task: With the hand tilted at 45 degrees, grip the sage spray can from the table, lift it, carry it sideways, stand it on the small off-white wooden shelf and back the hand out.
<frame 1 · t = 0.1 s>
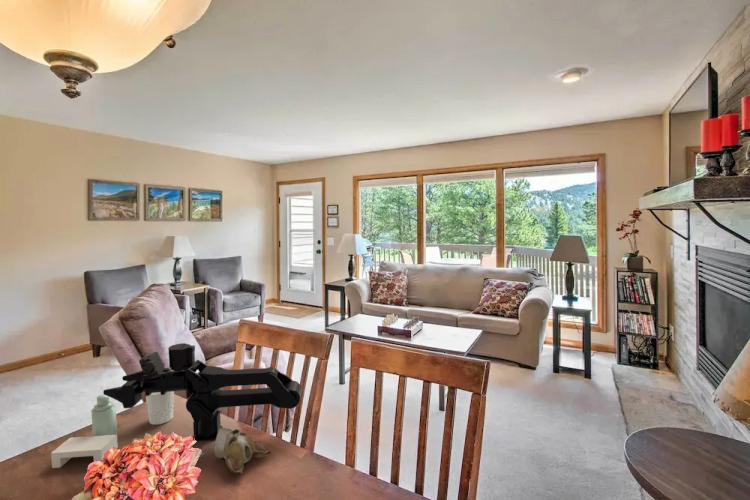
hand: (113, 384, 107), 17 cm above the table, fingers open, 9 cm apart
ceramic sculpture: (238, 462, 98), on the table
shelf: (86, 457, 100), on the table
sage spray can: (105, 439, 108), on the table
white cup: (161, 420, 119), on the table
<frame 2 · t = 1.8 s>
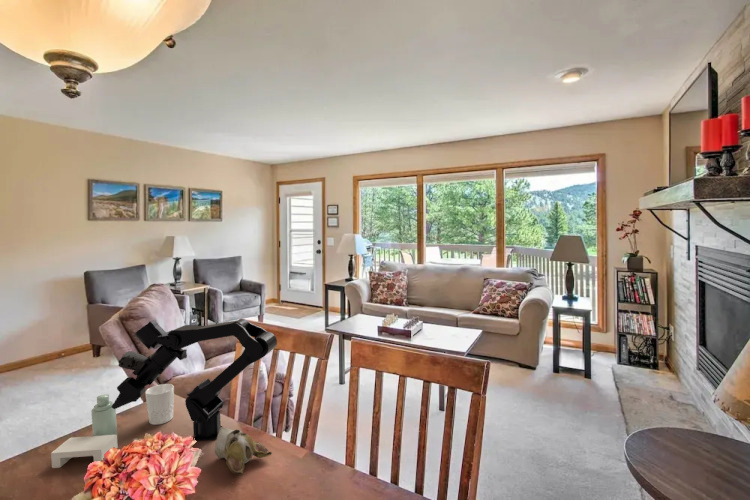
hand: (120, 400, 109), 11 cm above the table, fingers open, 9 cm apart
nothing on the table moved.
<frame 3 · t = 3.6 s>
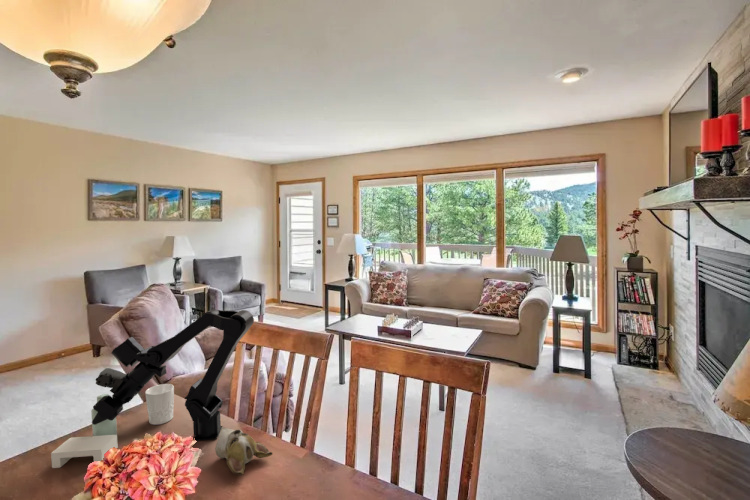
hand: (98, 418, 107), 7 cm above the table, fingers closed on sage spray can, 6 cm apart
sage spray can: (105, 439, 108), on the table, touching gripper
everything else where it was.
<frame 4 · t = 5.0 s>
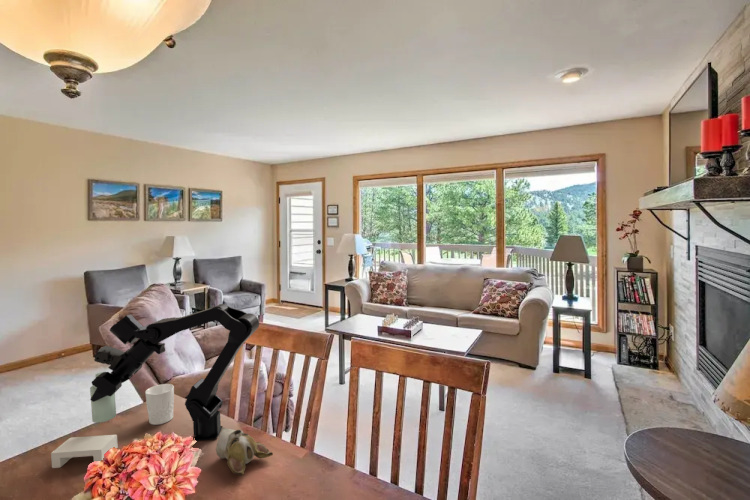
hand: (97, 395, 107), 13 cm above the table, fingers closed on sage spray can, 6 cm apart
sage spray can: (104, 417, 108), point 7 cm above the table, touching gripper
everything else where it was.
when the fingers open (12 cm above the table, at t = 6.6 s): sage spray can drops 1 cm, resting on shelf.
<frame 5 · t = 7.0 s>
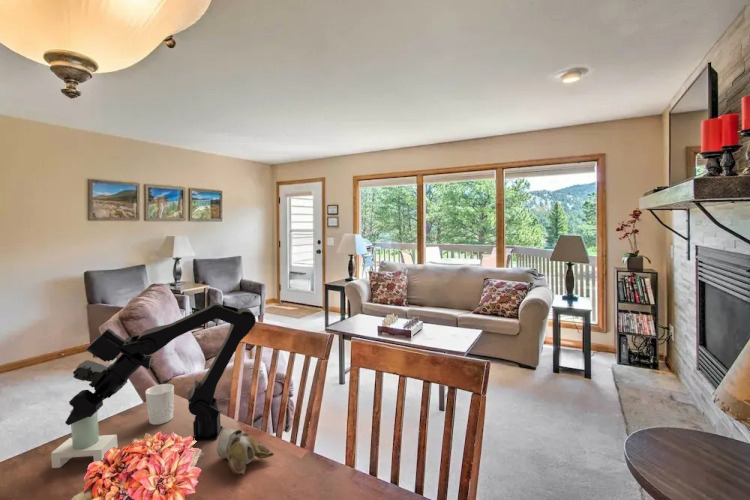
hand: (77, 414, 99), 12 cm above the table, fingers open, 9 cm apart
sage spray can: (86, 443, 100), point 4 cm above the table, touching shelf
everything else where it was.
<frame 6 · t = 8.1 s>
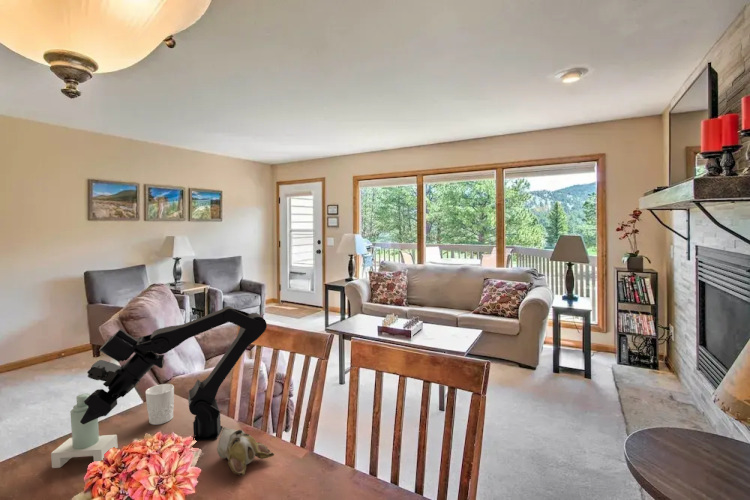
hand: (91, 414, 99), 12 cm above the table, fingers open, 9 cm apart
nothing on the table moved.
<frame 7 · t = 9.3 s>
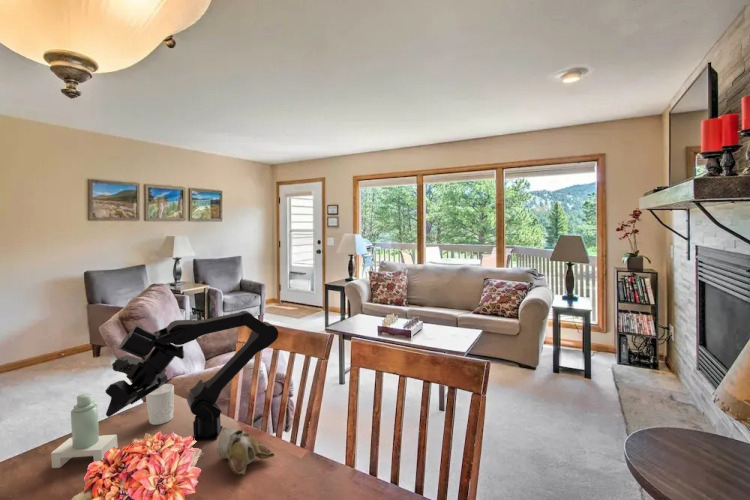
hand: (119, 409, 101), 12 cm above the table, fingers open, 9 cm apart
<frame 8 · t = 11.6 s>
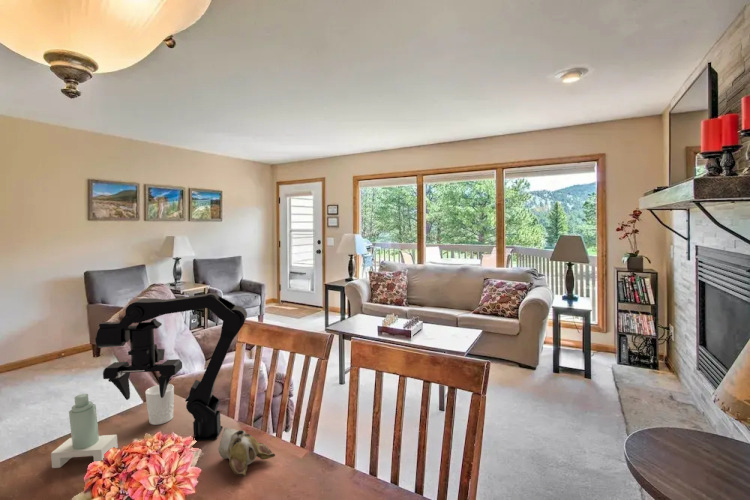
hand: (145, 398, 106), 13 cm above the table, fingers open, 9 cm apart
at the end: sage spray can inside the target area on the shelf (0.2 cm from its centre), point 4.1 cm above the shelf's base; sage spray can tilted 1°; the gripper is holding nothing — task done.
